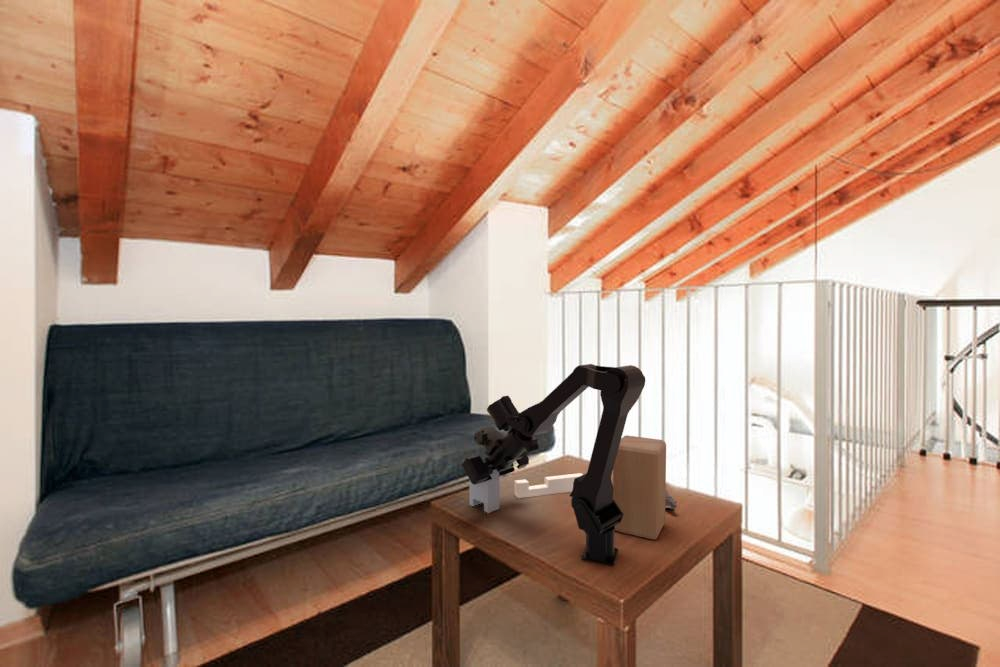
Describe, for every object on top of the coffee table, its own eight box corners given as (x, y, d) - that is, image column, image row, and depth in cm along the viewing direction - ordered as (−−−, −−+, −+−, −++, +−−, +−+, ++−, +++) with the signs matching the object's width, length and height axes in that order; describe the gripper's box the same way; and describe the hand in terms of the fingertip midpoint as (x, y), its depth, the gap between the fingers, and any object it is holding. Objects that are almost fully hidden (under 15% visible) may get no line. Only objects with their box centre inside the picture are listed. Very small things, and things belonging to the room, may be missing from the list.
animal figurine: (646, 503, 123) (645, 484, 124) (663, 503, 123) (661, 483, 124) (666, 514, 111) (665, 492, 112) (684, 514, 111) (682, 492, 112)
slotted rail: (584, 490, 129) (585, 475, 129) (517, 498, 123) (517, 483, 123) (580, 486, 131) (581, 473, 131) (514, 495, 125) (514, 480, 125)
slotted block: (499, 508, 116) (499, 467, 116) (487, 513, 113) (487, 471, 113) (480, 501, 121) (480, 461, 121) (469, 505, 118) (469, 465, 118)
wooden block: (623, 515, 113) (623, 433, 112) (665, 524, 108) (667, 439, 107) (611, 531, 104) (612, 443, 103) (657, 542, 99) (658, 450, 98)
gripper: (520, 412, 120) (491, 446, 128) (466, 424, 107) (437, 461, 115) (544, 448, 115) (511, 481, 123) (490, 466, 102) (458, 501, 110)
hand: (480, 480), depth 118 cm, fingers closed on slotted block, 4 cm apart
